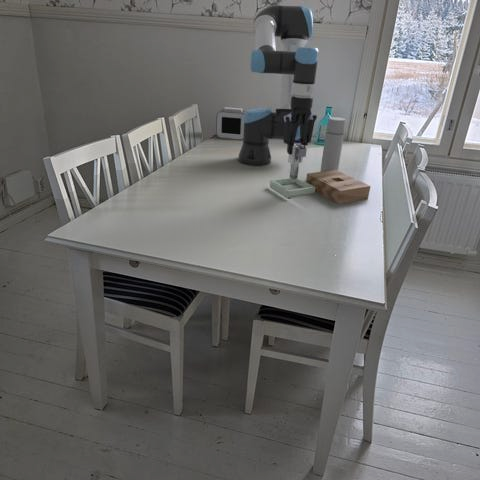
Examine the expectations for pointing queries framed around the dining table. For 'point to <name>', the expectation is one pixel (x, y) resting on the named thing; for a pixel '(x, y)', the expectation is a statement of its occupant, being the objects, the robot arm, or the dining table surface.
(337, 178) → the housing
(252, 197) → the dining table surface
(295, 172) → the t key
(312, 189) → the tray
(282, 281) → the dining table surface
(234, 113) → the grey monitor with handle
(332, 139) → the water bottle
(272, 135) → the robot arm
